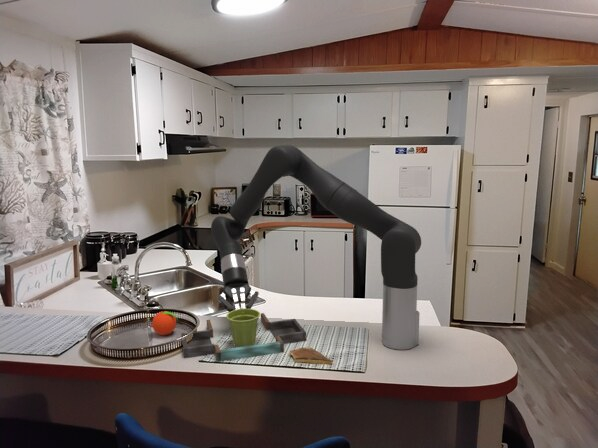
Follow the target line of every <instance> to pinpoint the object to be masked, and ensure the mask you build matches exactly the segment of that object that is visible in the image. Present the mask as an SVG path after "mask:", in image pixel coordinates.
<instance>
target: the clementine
mask: <svg viewBox="0 0 598 448" xmlns="http://www.w3.org/2000/svg"><path fill="white" fill-rule="evenodd" d="M177 321H179V320H178V317H177V316H176V314H174V313H173V312H170V311H167V310H163V311H160V312H158V313H157V314H155V316H154V317H153V318H152V321H151V322H152V323H151V325H152V329H153V330H154V332H155V333H156V334H158V335H162V336H165V335H166V336H167V335H169V334H171V333H172V332H173V331H174V330H175V328H176V327H177Z"/></svg>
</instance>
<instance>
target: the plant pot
mask: <svg viewBox="0 0 598 448" xmlns="http://www.w3.org/2000/svg"><path fill="white" fill-rule="evenodd" d="M259 318H261V312H260V311H259V310H257V309H254V308H251V309H237V310H234V311H231V312H228V313H227V314H226V319H227V320H228V323H229V326H230V327H229V328H230V331H231V337H232V342H233V345H234V346H235V348H237V347H244V346H251V345H256V341H257V340H256V339H257V328H258V322H259Z"/></svg>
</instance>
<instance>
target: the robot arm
mask: <svg viewBox="0 0 598 448" xmlns="http://www.w3.org/2000/svg"><path fill="white" fill-rule="evenodd" d="M285 177H291V178H293V179H295V180H297V181H299V182H300V183H301V184H303V185H305V187H307V188H308V189H309V190H310V191H311V193H312V194H313V196H314V197H315V198H316V200H317V201H318V203H320V204H319V205H321V206H322V207H323V208H325V209H326V210H327V211H329V213H332V214H333V215H335V217H337V218H339V219H340V220H343V221H344V222H345V223H348V224H351V225H353V226H357V227H359V228H361V229H364V230H367V231H368V232H370V233H371V234H373V235H375V236H376V237H377V238H379V239H380V240H381V244H380V271H381V272H380V273H381V276H382V313H381V314H382V317H381V319H382V321H381V322H382V325H381V343H382V345H384V346H385V347H387V348H389V349H393V350H400V351H401V350H411V349H413V348H414V347H415V346H418V345H419V342H420V341H419V339H420V337H419V336H420V312H419V311H418V309H417V308H418V307H417V305H418V280H419V279H418V275H417V273H416V254H417V253H418V252H419V251H420V248H421V246H422V238H421V235H420V233H419V231H418V230H417V229H416V228H415V227H413V226H412V225H410V224H408V223H406V222H404V221H402V220H400V219H399V218H397V217H395V216H393V215H391V214H389V212H386V211H385V210H383V209H382V208H381V207H379V206H378V205H377V204H376V203H374V202H373V201H372V200H370V199H368V198H367V197H366V196H365V195H363V194H361V193H360V192H359V191H358V190H356V189H355V188H354V187H352V186H351V185H349V184H347V183H346V182H344V181H343V180H341V179H340V178H338V177H337V176H336V175H334V174H332V173H331V172H330V171H327V170H325V168H323V167H321V166H319V165H318V164H317V163H316V162H314V161H313V160H312V159H311V157H310V158H309V157H308V156H307V155H306V154H305V153H304V152H303V151H302V150H301V149H299V148H298V147H296V146H294V145H290V144H288V145H287V144H284V145H276V146H273V147H271V148H270V149H269V150H268V152H267V153H266V154H265V156H264V158H263V160H262V161H261V162H260V165H259V166H258V169H257V170H256V172H255V174H254V175H253V177H252V178H251V180H250V181H249V183H248V185H247V186H246V188H245V189H244V191H242V193H241V194H240V195H239V196H238V198H237V199H236V200H235V201H234V202H233V204H232V205H231V207H230V209H229V215H230V217H232V218H230V217H227V216H222V215H218V216H216V217H215V218H214V219H213V220H212V222H211V224H210V225H211V226H210V231H211V236H212V238H213V240H214V242H215V244H216V247H217V248H218V251H219V256H220V258H219V259H220V268H221V271H220V273H221V275H222V277H221V278H222V283H223V291H222V292H221V294H218V295H217V300H216V302H217V303H219V304H220V305H221V306H222V307H223V309H225V310H226V311H227V312H228V313H229V312H231V311H234V310H237V309H252V308H253V306H254V304H255V302H256V301H257V299H258V297H259V294H260V293H259V291H254V290H252V287H251V286H250V285H249V278H248V274H247V267H246V263H245V259H244V254H243V250H242V245H241V243H240V242H239V241H237V240H239V239H241V237H242V236H243V235H244V232H245V229H246V227H247V225H248V224H249V223H248V222H249V220H250V219H251V218H252V217H253V216H254V215H255V213H256V212H257V211H258V210H259V209H260V207H261V205H262V203H263V202H264V199H265V196H266V194H267V192H268V191H269V189H271V187H272V186H273V185H274V184H275V183H277V182H278V181H279V180H280V179H281V178H285ZM249 295H250V296H249ZM248 297H250V299H249V301H248V303H247V304H246V301H247V299H248Z"/></svg>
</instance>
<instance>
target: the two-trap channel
mask: <svg viewBox="0 0 598 448" xmlns="http://www.w3.org/2000/svg"><path fill="white" fill-rule="evenodd" d="M260 322H261V324H262V326H264V328H265V330H266V331H270V332H271V334H272V336H273V337H274V338H275V341H273V342H266V343H261V344H259V343H257V344H254V345H251V346H244V347H231V348H230V347H229V348H223V349H220V346H219V344H215V343H212V339H211V338H214V328H213V325H212V322H211V319H206V330H197V331H193V332H194V333H193V337H192V341H191V342H190V343H189V344H187V342H186V338H185V339H184V340H182V339H181V345H182V344H183V347H182V352H183V358H184V359H187V358H193V357H201V356H208V355H207V354H209V355H214V356H215V359H217V360H216V362H217V361H220V362H225V361H224V360H227V361H231V360H232V359H233V360H239V358H240V359H247V358H251V357H253V358H254V357H258V356H266V354H267V355H274V354H278V353H279V354H280V353H285V344H291V343H298V342H299V343H300V342H306V341H307V331H306V330H305V329H304V328H303V327H302V325H301V324H300V323H299V322H298V321H297V319H296V318H291V319H285V320H284V319H282V320H277V321H270V320H269V319H268V317H267V316H266V314H265V313H264V312H262V313H261V312H260ZM188 333H190V331H189V332H182V333H181V335H180V336H181V338H182V337H183V336H185V335H187V334H188ZM273 353H274V354H273Z"/></svg>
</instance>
